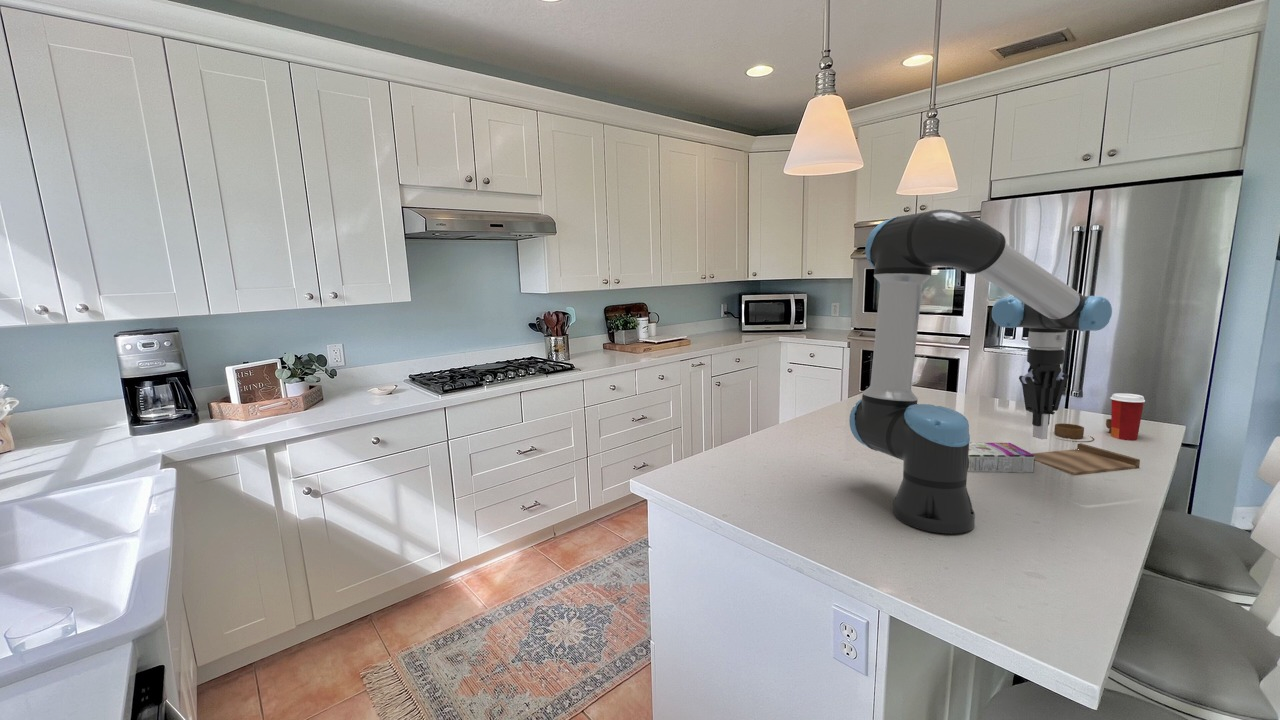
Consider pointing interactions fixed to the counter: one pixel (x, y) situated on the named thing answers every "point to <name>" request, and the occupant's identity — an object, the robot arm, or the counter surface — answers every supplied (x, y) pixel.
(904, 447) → the robot arm
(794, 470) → the counter surface
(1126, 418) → the paper cup
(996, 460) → the candy bar box
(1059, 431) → the place setting
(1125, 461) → the board
